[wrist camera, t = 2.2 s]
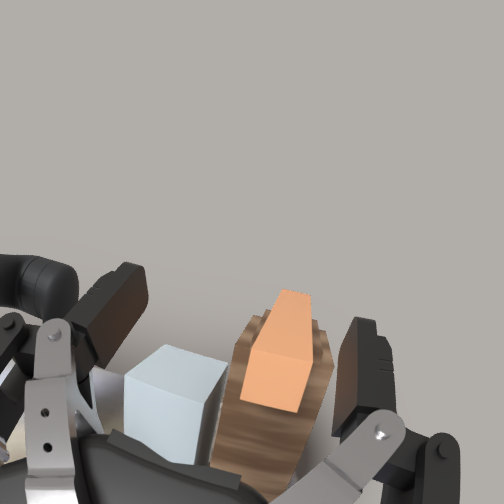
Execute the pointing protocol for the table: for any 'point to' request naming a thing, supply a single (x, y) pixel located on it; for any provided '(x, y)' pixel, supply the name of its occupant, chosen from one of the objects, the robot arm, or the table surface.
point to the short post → (174, 403)
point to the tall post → (268, 420)
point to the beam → (281, 355)
